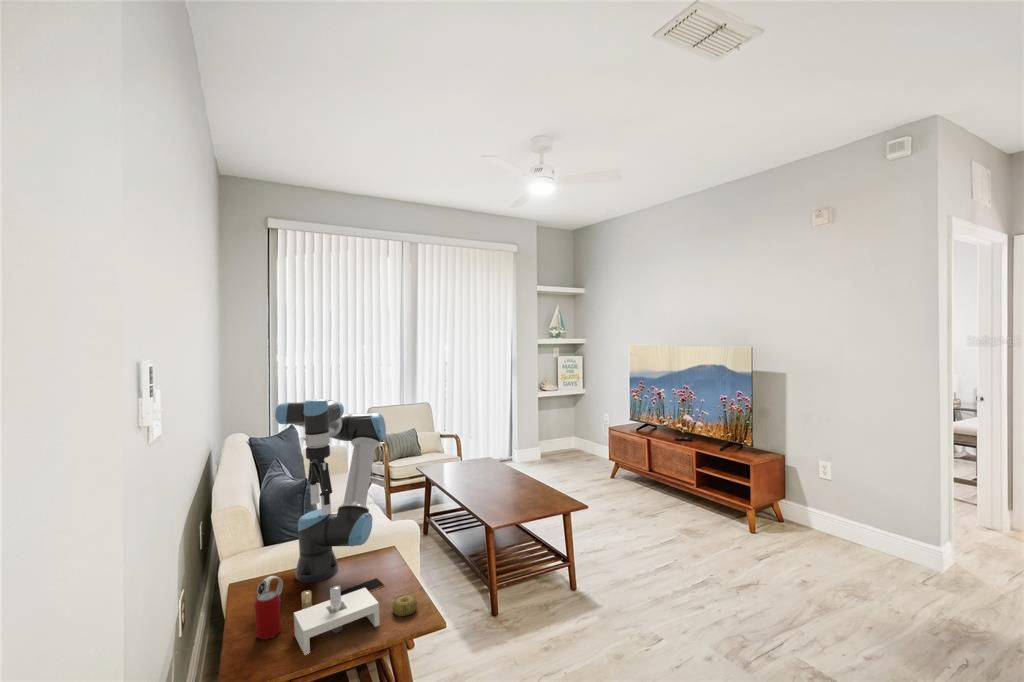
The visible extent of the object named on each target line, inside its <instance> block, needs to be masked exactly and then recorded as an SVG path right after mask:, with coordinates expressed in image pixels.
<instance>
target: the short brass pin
mask: <svg viewBox="0 0 1024 682" xmlns="http://www.w3.org/2000/svg"><path fill="white" fill-rule="evenodd" d="M300 594H301V610H303V609H306V608H308V607H311V606H313V598H312V596H313V595H312V590H310V589H307V590H306V589H305V590H304V591H302V592H301V593H300Z"/></svg>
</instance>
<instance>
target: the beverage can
mask: <svg viewBox="0 0 1024 682" xmlns="http://www.w3.org/2000/svg"><path fill="white" fill-rule="evenodd" d="M256 597H257V596H256ZM280 600H281V598H280V596H279V595H278V594H277V592H276V590H269V591H267V592H264V593H262V594H260V595H259V596H258V597H257V598H256V601H255V603H254V609H255V610H254V611H255V626H256V627H255V628H256V632H255V633H256V637H257V638H258V639H261V640H269V638H270V639H272V638H274V637H276V636H277V635H278V634H279V633H280V632H281V630H282V615H281V612H282V611H280Z"/></svg>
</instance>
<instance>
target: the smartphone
mask: <svg viewBox="0 0 1024 682" xmlns="http://www.w3.org/2000/svg"><path fill="white" fill-rule="evenodd" d="M384 585H385V583H383V582H382V581H381V580H380V579H379V578H378V577H376V578H373V579H369V580H368V581H364V582H362V583H359V584H357V585H353V586H351V587H349V588H345V589H343V590H340V591H341V596H342V595H345V594H348V593H351V592H354V591H357V590H359V589H362V588H366V589H367V590H368V591H369V592H370V591H372V590H375V589H377V588H380V587H382V586H384ZM384 587H385V586H384ZM382 588H383V587H382ZM380 589H381V588H380ZM377 590H378V589H377ZM375 591H376V590H375ZM372 592H373V591H372ZM370 593H371V592H370Z"/></svg>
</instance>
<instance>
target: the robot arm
mask: <svg viewBox="0 0 1024 682" xmlns="http://www.w3.org/2000/svg"><path fill="white" fill-rule="evenodd" d="M344 412H345V409H344V405H343V403H342V402H341V401H339V400H336V399H328V400H327V399H326V398H312V399H307V400H305V401H304V402H303V401H302V402H284V403H279V404H278V405H277V406H276V408H275V412H274V417H275V421H276V422H277V423H278V424H279V425H285V426H286V425H294V426H298V427H302V428H304V436H305V437H303V441H305V446H306V447H305V458H306V459H307V460H309V464H308V465H309V466H308V478H307V482H308V483H309V489H310V490H309V491H310V504H311V505H316V504H320V503H321V505H320V506H321V508H320V509H315V510H311V511H309V512H307V513H304V514H303V515H302V516H300V518H299V519H298V522H297V523H298V525H297V528H298V529H297V532H298V533H297V534H298V548H299V549H298V550H299V556H298V557H299V558H298V561H297V565H296V567H295V579H296V580H297V582H300V583H316V582H319V581H324V580H326V579H328V578H330V577H332V576H334V575H335V574H336V573H337V572H338V569H339V563H338V560H337V558H336V557H337V556H336V555H335V553H334V550H333V547H357V546H363V545H364V544H365V543H366V542H367V541H368V540H369V538H370V535H371V532H372V528H373V515H372V514H371V513H370V509H369V508H368V507H367V500H368V494H369V488H370V481H371V475H372V470H373V462H374V456H375V451H376V448H378V447H379V446H380V442H381V441H384V440H385V439H386V435H387V427H386V421H385V418H384V416H383V415H382V414H381V413H378V412H374V413H373V412H370V413H369V412H368V413H344ZM330 438H331V439H334V440H338V441H343V442H350V443H351V445H352V447H353V450H352V455H351V461H350V467H349V471H348V477H347V482H346V489H345V494H344V500H343V504H341V505H340V506H339V507H338V508H337V513H332V503H331V500H332V499H331V494H332V493H333V488H332V483H331V476H330V471H329V470H330V469H329V463H328V462H326V461H325V459H327V458H328V457H330V455H331V446H330V442H331V440H330ZM320 490H321V492H320Z"/></svg>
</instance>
